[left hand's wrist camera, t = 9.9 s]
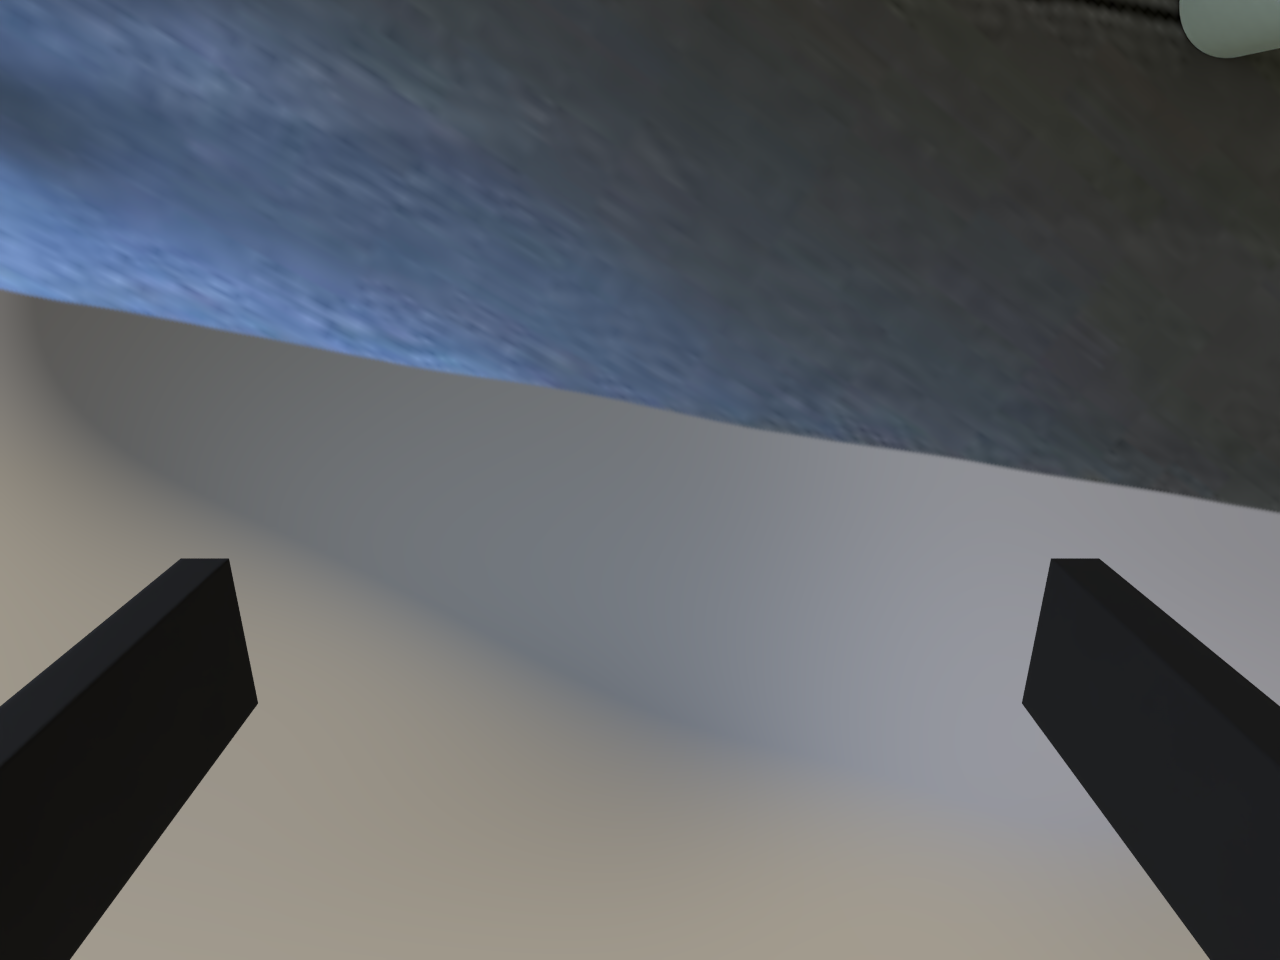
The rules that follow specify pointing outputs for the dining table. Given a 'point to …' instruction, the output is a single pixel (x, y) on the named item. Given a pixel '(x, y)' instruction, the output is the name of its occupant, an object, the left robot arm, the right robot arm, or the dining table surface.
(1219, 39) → the jar
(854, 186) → the dining table surface
